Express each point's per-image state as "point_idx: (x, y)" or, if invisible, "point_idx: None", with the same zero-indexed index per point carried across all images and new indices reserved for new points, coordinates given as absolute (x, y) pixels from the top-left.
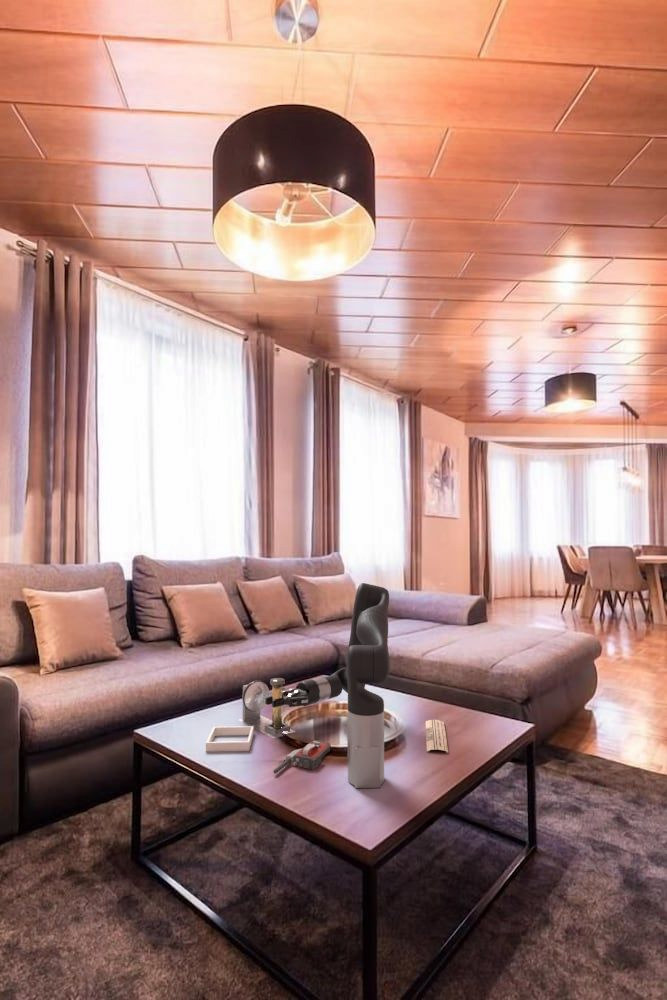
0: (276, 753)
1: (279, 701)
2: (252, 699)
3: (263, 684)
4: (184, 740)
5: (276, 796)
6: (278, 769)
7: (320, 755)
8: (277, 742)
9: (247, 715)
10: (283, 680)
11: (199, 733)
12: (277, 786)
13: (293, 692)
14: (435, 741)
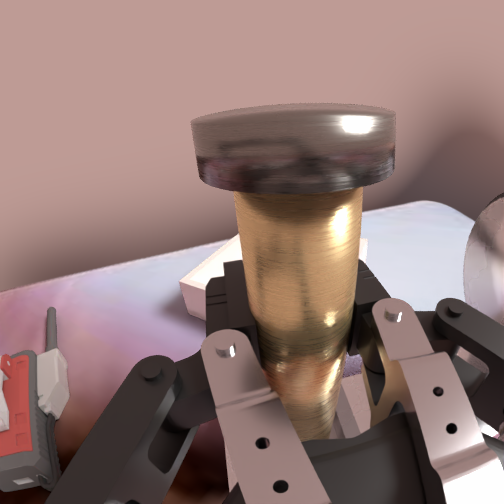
0: None
1: (207, 301)
2: (491, 277)
3: None
4: (374, 233)
5: (21, 293)
6: (47, 315)
7: None
8: (216, 423)
9: None
10: (214, 122)
11: (413, 254)
12: (32, 305)
13: (293, 476)
14: None
